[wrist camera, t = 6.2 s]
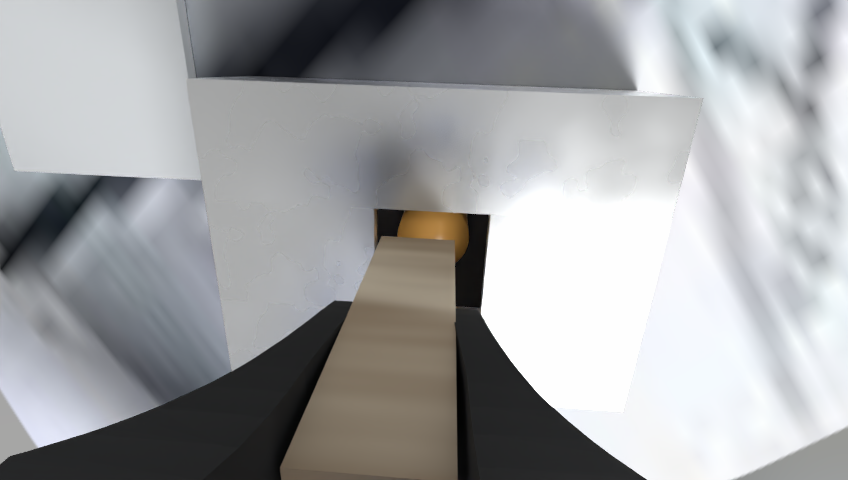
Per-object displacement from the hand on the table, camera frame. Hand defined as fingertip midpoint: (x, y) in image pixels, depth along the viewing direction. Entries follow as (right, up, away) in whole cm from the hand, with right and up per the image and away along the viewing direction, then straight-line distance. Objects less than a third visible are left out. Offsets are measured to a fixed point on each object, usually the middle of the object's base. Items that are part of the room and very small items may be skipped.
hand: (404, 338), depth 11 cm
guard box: (+1, +4, +9) cm, 10 cm away
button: (+1, +3, +9) cm, 10 cm away
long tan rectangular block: (0, +2, +4) cm, 4 cm away
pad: (-14, +10, +8) cm, 19 cm away
